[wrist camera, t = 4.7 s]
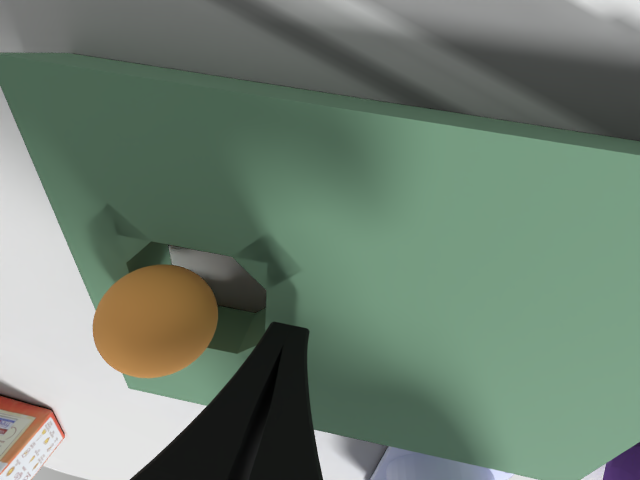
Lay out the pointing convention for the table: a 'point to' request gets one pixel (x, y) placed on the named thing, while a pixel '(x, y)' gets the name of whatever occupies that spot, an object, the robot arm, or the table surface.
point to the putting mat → (366, 250)
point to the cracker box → (25, 438)
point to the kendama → (624, 465)
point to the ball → (155, 321)
